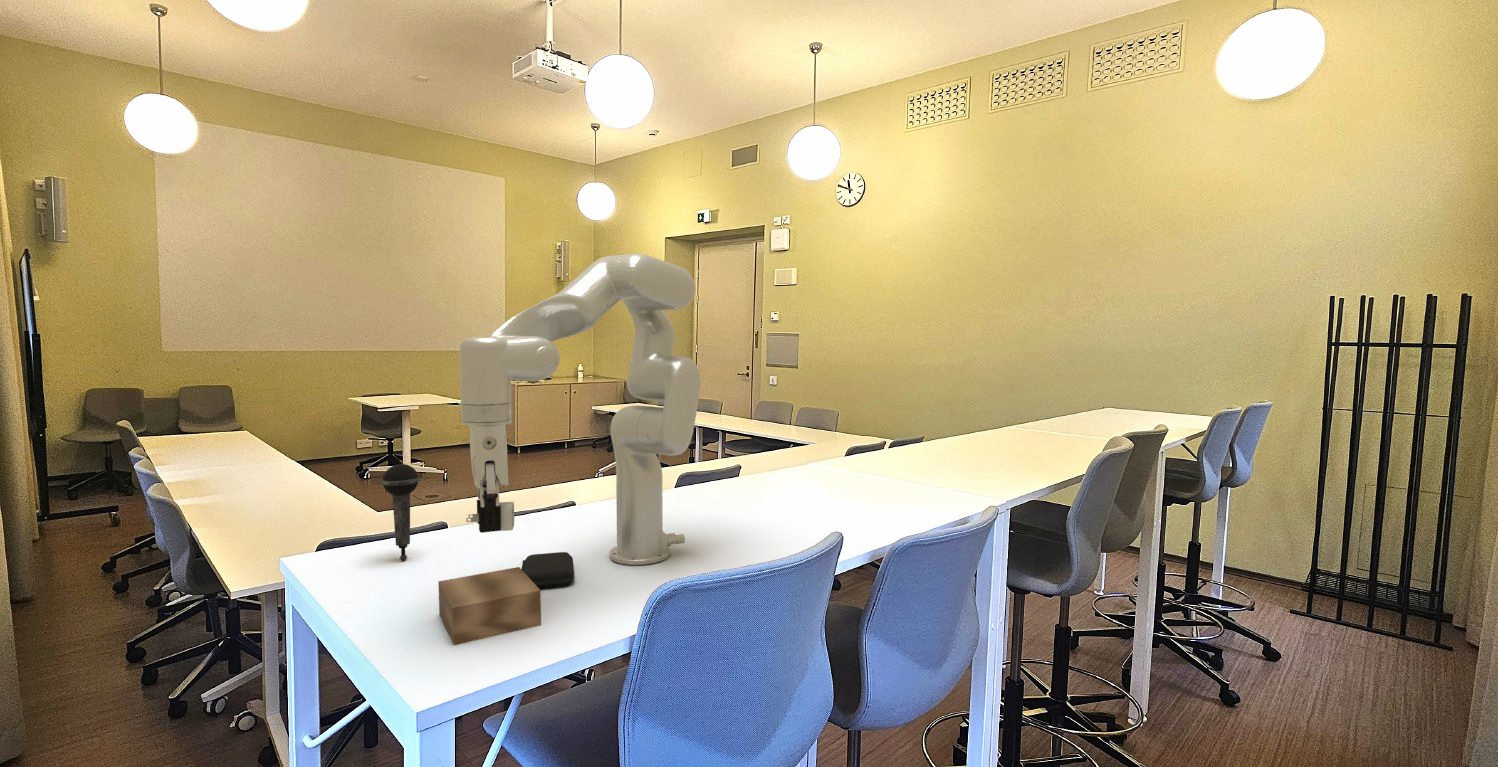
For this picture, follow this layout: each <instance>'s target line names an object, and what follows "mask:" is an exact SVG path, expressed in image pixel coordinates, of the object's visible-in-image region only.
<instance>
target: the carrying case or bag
mask: <svg viewBox="0 0 1498 767" xmlns="http://www.w3.org/2000/svg"><path fill="white" fill-rule="evenodd" d="M521 570H522V571H523V572H524V573H525V574H526V575H527V576H528V577H529V578H530V579H531V580H532V582H533V583H534V584H535V585H536V586H537V587H538V588H539V589H540V590H543V589H544V590H545V589H556V588H564V587H568V586H570V585H571V584H572V582H574V580H575V569H574V557H573V556H572V555H571V554H570V553H569V552H567V551H560V552H559V551H558V552H547V553H536V554H535V553H534V554H530V555H528V556H526V558H525V559H523V560H522V565H521Z"/></svg>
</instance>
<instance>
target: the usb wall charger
mask: <svg viewBox="0 0 1498 767" xmlns="http://www.w3.org/2000/svg"><path fill="white" fill-rule="evenodd" d="M499 505H500V506H501V530H500V531H499V532H504V531H505V532H506V531H513V530H514V526H515V502H514V501H502V502H500V501H499ZM467 516H468V517H466V520H465V522H466V523H477V522H479V514H477V513H472V514H468V515H467ZM470 516H471V517H470ZM469 519H470V520H469Z"/></svg>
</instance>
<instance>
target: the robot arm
mask: <svg viewBox="0 0 1498 767" xmlns="http://www.w3.org/2000/svg"><path fill="white" fill-rule="evenodd" d="M695 293H696V283H695V281H694V278H693V276H692V275H691V273H690V272H689V271H688V270H687V269H685V268H683V267H682V266H679V265H677V264H673V263H671V262H668V261H666V260H663V259H659V258H656V257H653V256H650V255H647V254H643V253H628V254H617V255H616V254H615V255H606V256H603V257H600V258H598V259H596V260H595V261H594V262H592V263H591V264H589V266H587V268H585V269H584V270H583V271H582V272H581V273H580V274H578V275H577V276H576V277H575V278H574V279H573V280H572V281H571V282H570V283H568V284H567V285H566V286H565V287H563V288H562V289H561V290H560V291H559V292H557V293H555V294H554V295H552V296H550V297H548V298H546V299H543V300H542V301H540V302H538V303H536V304H534V305H532V306H530V307H528V308H526V309H524V310H522V311H521V312H519V313H517V314H516V315H513V316H512V317H511V318H509V319H508V320H506V321H505V322H504V323H502V325H500V326H499V327H498V328H497V329H496V330H495V331H493V332H492V333H491V334H490V335H489V336H474V337H473V336H468V337H465V338H464V339H463V340H461V342H460V345H459V372H460V373H459V374H460V375H459V378H460V421H461V423H460V425H462V426H466V427H467V426H468V427H469V447H470V449H469V450H470V463H471V472H472V477H473V483H474V486H475V488H476V489H477V499H476V514H479V522H476V523H477V525H478V531H479V533H481V534H483V533H493V532H501V531H500V530H501V506H500V505H499V502H500V486H499V485H501V486H503V487H504V488H507V487H508V486H509V466H508V464H509V463H508V442H507V431H506V430H507V429H506V425H510V424H512V422H513V420H512V418H513V417H512V416H513V415H512V414H513V413H512V381H513V380H514V381H524V382H525V381H526V382H527V381H528V382H537V381H538V382H539V381H543V380H546V379H547V378H549V377H551V376H552V375H553V374H554V373H555V372H556V371H557V370H558V368H559V365H560V353H559V351H558V348H557V346H556V345H555V344H554V343H553V342H554V341H558V340H561V339H565V338H566V339H567V338H570V337H573V336H576V335H579V334H581V333H584V332H586V331H588V330H590V329H592V328H593V327H595V325H596V324H597V323H598V322H599V321H601V319H602V318H603V317H604V316H605V315H606V314H607V313H608V312H609V311H610V310H611V309H612V308H613V307H614V306H615V305H616V304H618V303H619V302H621V301H622V303H623V304H624V306H625V308H626V310H627V312H629V315H630V317H631V319H632V322H633V326H634V339H633V345H632V346H633V347H632V353H631V356H630V363H629V368H628V375H627V381H626V382H627V385H626V386H627V391H628V392H629V394H630V395H631V396H632V397H634V398H636V399H639V400H643V401H650V402H651V401H653V402H655V401H656V402H663V407H661V406H660V407H659V406H652V405H651V406H649V405H648V406H647V405H629V406H625V407H622V408H620V409H619V410H617V412H616V413H615V414H614V416H613V417H612V419H611V423H610V438H611V441H612V447H613V452H614V456H615V457H614V459H615V473H616V474H615V476H616V478H615V480H616V481H615V482H616V484H615V488H616V489H615V490H616V491H615V492H616V494H615V496H616V497H615V498H616V502H615V503H616V546H614V547H612V548H611V549H610V550H609V559H610V560H611V561H613V562H614V563H618V564H622V565H630V566H642V565H651V564H655V563H659V562H661V561H664V560H666V559H668V558H669V557H670V556H671V548H670V547H672V545H679V544H681V545H682V544H685V543H686V536H685V534H684V533H680V534H676V533H675V532H671V533H665V531H663V530H664V529H663V524H664V523H663V514H664V512H663V509H664V508H663V468H662V465H661V462H660V459H659V457H658V455H661V456H670V457H671V456H678V455H682V454H683V453H684V452H685V451H686V450H688V448H689V446H690V445H691V444H690V443H691V441H692V438H693V434H694V428H695V424H696V423H695V422H696V417H697V413H698V412H697V411H698V407H699V406H698V405H699V400H700V394H701V386H702V385H701V382H702V381H701V373H700V370H699V366H698V364H696V362H695V361H694V360H693V359H691V358H689V357H687V356H683V355H674V350H675V341H676V333H675V328H674V326H673V323H672V321H671V320H670V319H669V316H668V315H667V313H666V312H665V311H673V310H674V311H676V310H682V309H683V310H684V309H685V308H687V307H688V306H689V305H690V304H691V303H692V302H693V300H694V298H695V296H696V295H695Z"/></svg>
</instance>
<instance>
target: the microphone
mask: <svg viewBox="0 0 1498 767" xmlns="http://www.w3.org/2000/svg"><path fill="white" fill-rule="evenodd" d="M419 482H420V476H419V474H418V471H417V470H416V469H415V467H412V466H411V465H409V464H405V463H397V464H394V465H392V466H390V467H389V468H388V469H387V470H386V471H385V472H384V473H383V477H382V480H381V484H382V486H383V488H384V489H385V491H386V492H387V493H388V494H389V495H391V497H392V508H393V510H392V511H393V524H394V525H393V527H394V539H395V546H396V547H398V549H400V554H401V555H400V557H399V560H400V561H401V562H402V561H403V562H404V561H406V560H407V558H408V556H407V554H406V548H408V545H410V543H411V493H413V492H414V491H415V490H416V488H417V487H418V485H419Z"/></svg>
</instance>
